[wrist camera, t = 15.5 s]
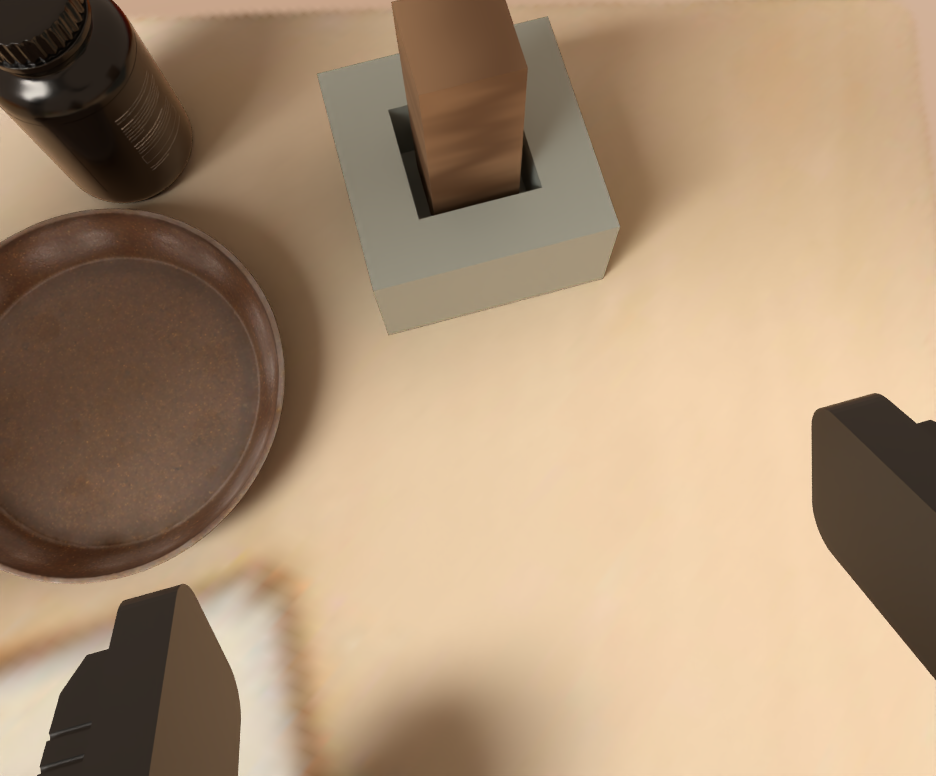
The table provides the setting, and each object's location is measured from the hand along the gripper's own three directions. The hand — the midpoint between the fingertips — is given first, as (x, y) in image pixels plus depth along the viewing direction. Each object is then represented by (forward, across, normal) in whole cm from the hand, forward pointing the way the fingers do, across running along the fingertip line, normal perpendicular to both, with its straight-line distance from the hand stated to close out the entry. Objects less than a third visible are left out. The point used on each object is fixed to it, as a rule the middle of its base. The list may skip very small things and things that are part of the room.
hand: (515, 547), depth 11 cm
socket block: (+35, -4, +8) cm, 36 cm away
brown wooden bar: (+34, -4, +7) cm, 34 cm away
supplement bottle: (+41, +12, +2) cm, 43 cm away
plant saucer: (+32, +15, +12) cm, 37 cm away
